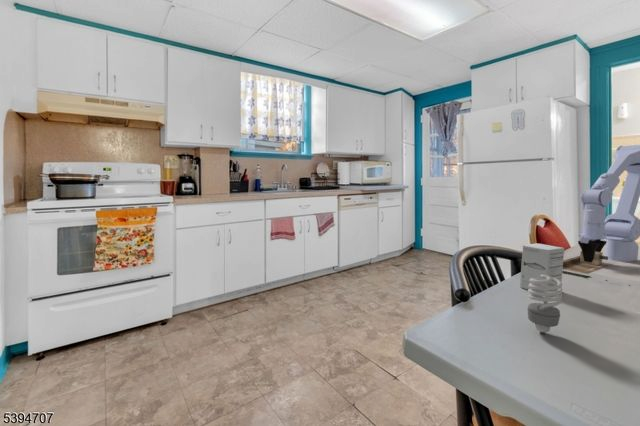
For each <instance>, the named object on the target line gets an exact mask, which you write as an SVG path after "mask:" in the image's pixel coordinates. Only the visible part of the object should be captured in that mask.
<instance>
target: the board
mask: <svg viewBox="0 0 640 426" xmlns="http://www.w3.org/2000/svg"><path fill="white" fill-rule="evenodd" d="M613 265H614V263H610V262H604V261H602V264H599V265H594V264H588V263H582V262H580V255H578V256H575V257H571V258H567V259H563V270H562V274H565V275H570V276H574V277H578V278H583V279H584V278H585V279H589V278H591V277H592V276H590V275H588V274H590V273H593V272H597V271H598V270H602V269H604V268H607V267H611V266H613ZM565 270H566V271H565ZM569 271H571V272H569ZM581 273H582V274H581Z"/></svg>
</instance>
